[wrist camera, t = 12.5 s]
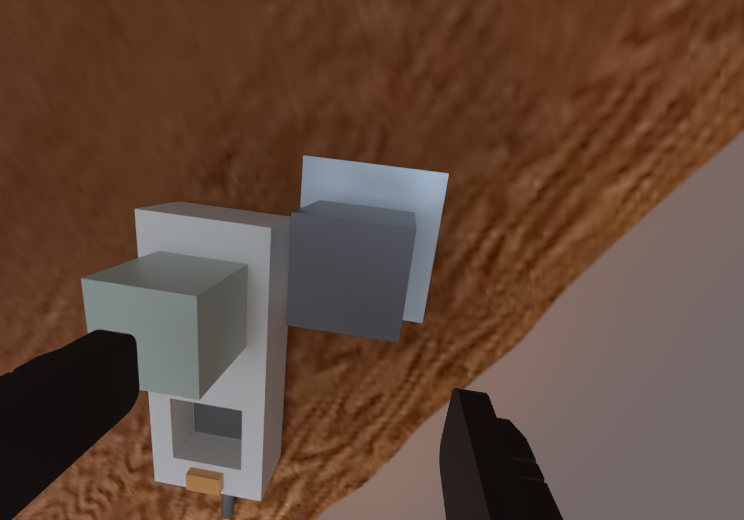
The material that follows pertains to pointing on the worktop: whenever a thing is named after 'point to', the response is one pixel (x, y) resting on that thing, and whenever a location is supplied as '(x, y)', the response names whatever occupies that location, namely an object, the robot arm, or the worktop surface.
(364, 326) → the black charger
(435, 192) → the blue tile
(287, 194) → the worktop surface
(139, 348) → the block
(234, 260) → the power strip
